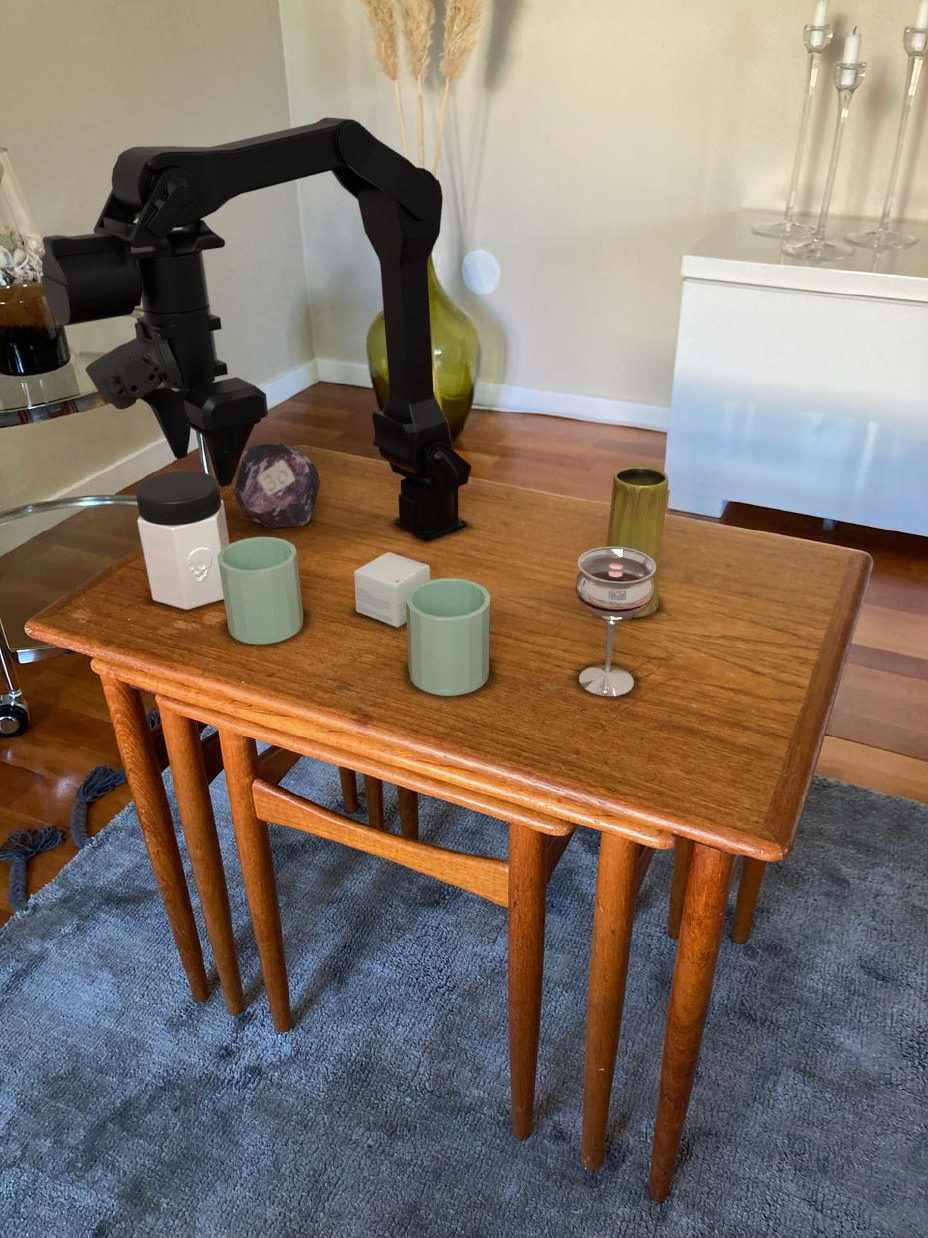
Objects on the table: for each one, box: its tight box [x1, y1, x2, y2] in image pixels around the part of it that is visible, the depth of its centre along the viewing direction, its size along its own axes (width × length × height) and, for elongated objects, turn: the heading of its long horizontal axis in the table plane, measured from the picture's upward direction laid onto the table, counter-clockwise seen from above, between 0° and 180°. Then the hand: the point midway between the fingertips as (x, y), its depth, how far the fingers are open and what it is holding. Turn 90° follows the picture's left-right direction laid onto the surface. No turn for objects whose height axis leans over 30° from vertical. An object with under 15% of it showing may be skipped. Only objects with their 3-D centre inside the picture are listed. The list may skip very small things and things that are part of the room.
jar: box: [134, 470, 230, 611], centre depth 99 cm, size 9×8×12 cm
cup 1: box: [217, 536, 304, 645], centre depth 94 cm, size 7×7×8 cm
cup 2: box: [406, 577, 492, 697], centre depth 87 cm, size 7×7×8 cm
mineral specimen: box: [233, 443, 321, 529], centre depth 115 cm, size 10×10×10 cm
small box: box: [353, 551, 431, 629], centre depth 98 cm, size 6×6×5 cm
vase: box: [606, 465, 669, 619], centre depth 96 cm, size 6×6×14 cm
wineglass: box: [574, 546, 656, 697], centre depth 85 cm, size 7×7×12 cm
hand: (202, 471), depth 93 cm, fingers open, 9 cm apart
